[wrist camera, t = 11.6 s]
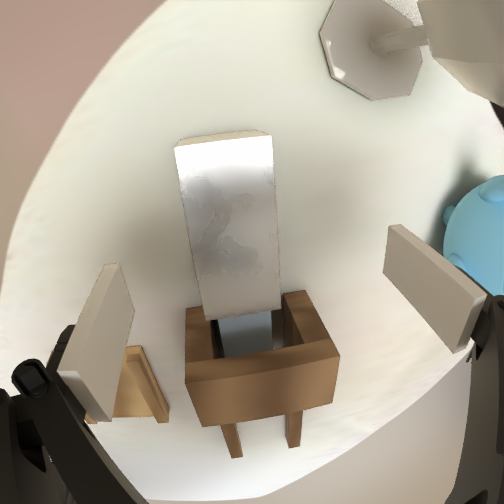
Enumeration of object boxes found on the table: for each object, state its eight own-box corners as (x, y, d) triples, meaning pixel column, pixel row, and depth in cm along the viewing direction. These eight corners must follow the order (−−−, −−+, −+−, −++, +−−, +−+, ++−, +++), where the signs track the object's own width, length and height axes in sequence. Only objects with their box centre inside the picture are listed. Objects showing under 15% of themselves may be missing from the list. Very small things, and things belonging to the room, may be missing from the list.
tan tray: (90, 410, 29) (88, 423, 28) (52, 351, 25) (46, 365, 23) (168, 408, 30) (168, 422, 29) (140, 345, 26) (138, 361, 24)
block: (266, 271, 25) (281, 309, 20) (203, 281, 24) (205, 320, 20) (255, 129, 20) (271, 135, 15) (180, 138, 19) (174, 147, 15)
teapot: (512, 198, 26) (575, 233, 17) (463, 294, 31) (515, 344, 22) (458, 143, 22) (546, 173, 13) (398, 268, 27) (464, 334, 18)
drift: (267, 372, 30) (274, 400, 27) (230, 378, 30) (234, 407, 26) (260, 272, 25) (270, 300, 21) (213, 279, 24) (215, 308, 21)
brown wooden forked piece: (227, 446, 36) (234, 496, 29) (185, 308, 25) (185, 383, 18) (299, 434, 37) (314, 481, 30) (305, 290, 26) (340, 355, 19)
